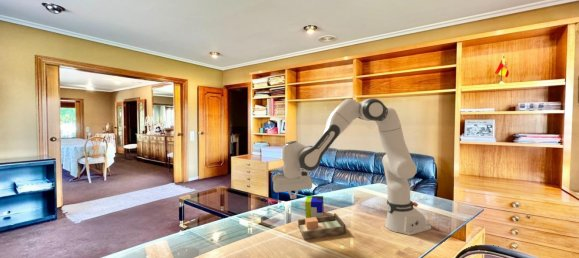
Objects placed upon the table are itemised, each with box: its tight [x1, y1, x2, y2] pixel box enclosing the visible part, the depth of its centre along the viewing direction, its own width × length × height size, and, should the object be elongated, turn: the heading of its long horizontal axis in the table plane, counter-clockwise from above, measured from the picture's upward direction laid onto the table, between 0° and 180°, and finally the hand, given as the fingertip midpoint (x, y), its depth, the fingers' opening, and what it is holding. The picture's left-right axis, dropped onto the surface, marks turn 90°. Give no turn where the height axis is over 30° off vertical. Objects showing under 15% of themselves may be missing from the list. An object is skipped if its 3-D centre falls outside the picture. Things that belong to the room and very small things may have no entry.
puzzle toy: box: [304, 195, 325, 218], centre depth 158 cm, size 10×10×10 cm
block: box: [304, 217, 318, 230], centre depth 137 cm, size 6×5×4 cm
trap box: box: [297, 213, 347, 240], centre depth 138 cm, size 22×15×5 cm
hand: (293, 198), depth 135 cm, fingers closed
